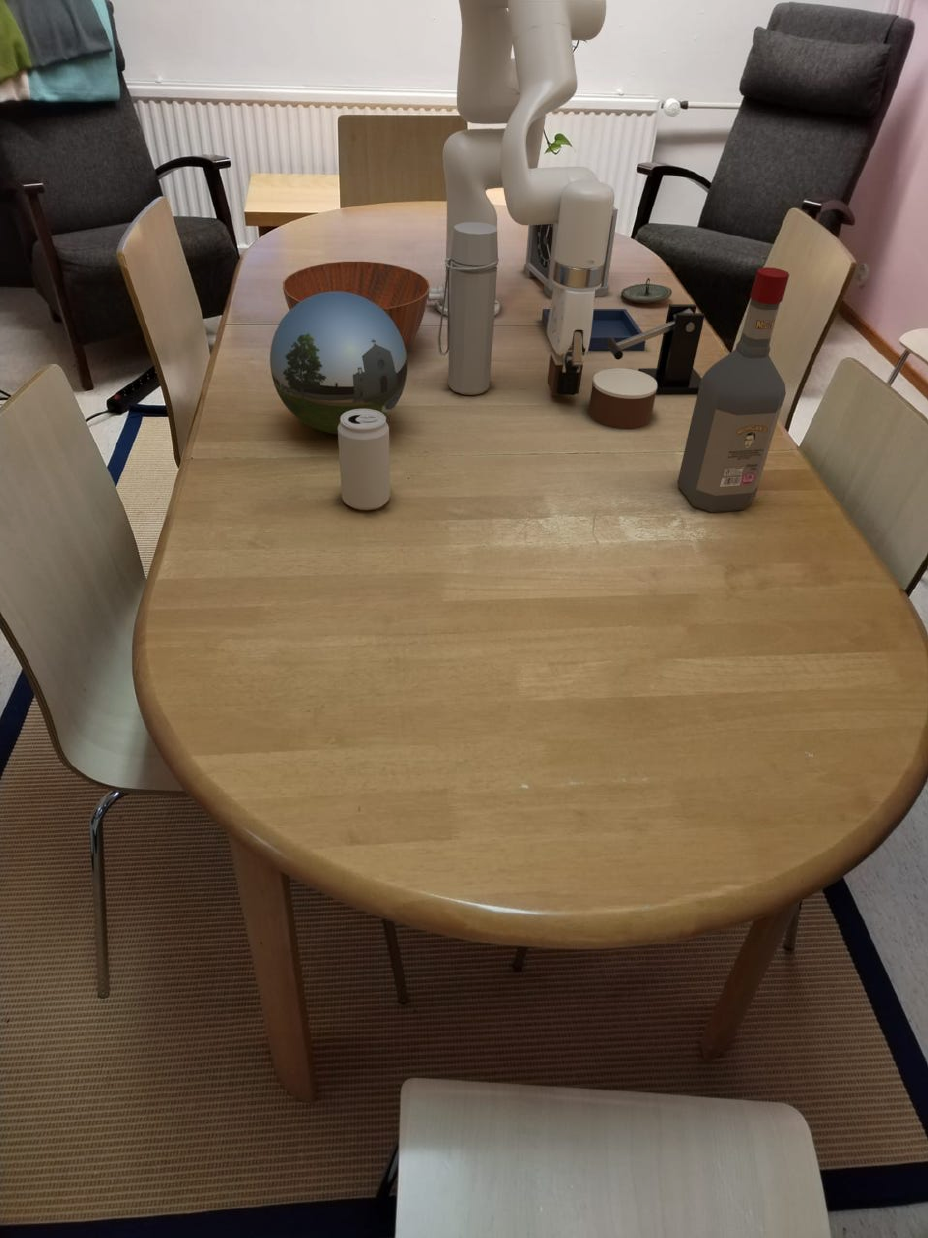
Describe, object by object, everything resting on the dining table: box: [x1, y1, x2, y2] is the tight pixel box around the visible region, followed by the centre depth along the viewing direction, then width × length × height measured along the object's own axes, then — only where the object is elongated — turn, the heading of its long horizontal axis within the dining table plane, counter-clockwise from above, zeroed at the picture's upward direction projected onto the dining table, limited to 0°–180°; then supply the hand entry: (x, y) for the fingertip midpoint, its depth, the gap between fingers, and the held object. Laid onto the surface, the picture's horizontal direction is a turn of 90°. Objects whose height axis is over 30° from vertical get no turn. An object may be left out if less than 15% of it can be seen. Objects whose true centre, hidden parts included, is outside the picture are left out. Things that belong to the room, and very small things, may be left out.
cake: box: [588, 367, 657, 430], centre depth 134 cm, size 10×10×6 cm
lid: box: [620, 277, 673, 304], centre depth 176 cm, size 11×10×5 cm
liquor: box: [677, 266, 790, 513], centre depth 108 cm, size 9×9×30 cm
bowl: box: [282, 261, 431, 352], centre depth 148 cm, size 25×25×11 cm
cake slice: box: [546, 349, 584, 395], centre depth 137 cm, size 4×4×6 cm
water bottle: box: [437, 222, 500, 396], centre depth 133 cm, size 9×8×25 cm
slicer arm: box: [606, 309, 693, 360], centre depth 139 cm, size 14×6×2 cm, turn 96°
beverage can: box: [337, 409, 391, 511], centre depth 109 cm, size 6×6×12 cm
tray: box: [541, 308, 647, 352], centre depth 160 cm, size 17×15×2 cm
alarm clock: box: [523, 206, 619, 299], centre depth 178 cm, size 18×13×18 cm
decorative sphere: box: [269, 291, 408, 435], centre depth 122 cm, size 20×20×20 cm
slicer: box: [637, 303, 706, 396], centre depth 141 cm, size 10×8×13 cm
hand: (563, 385), depth 138 cm, fingers closed on cake slice, 4 cm apart
